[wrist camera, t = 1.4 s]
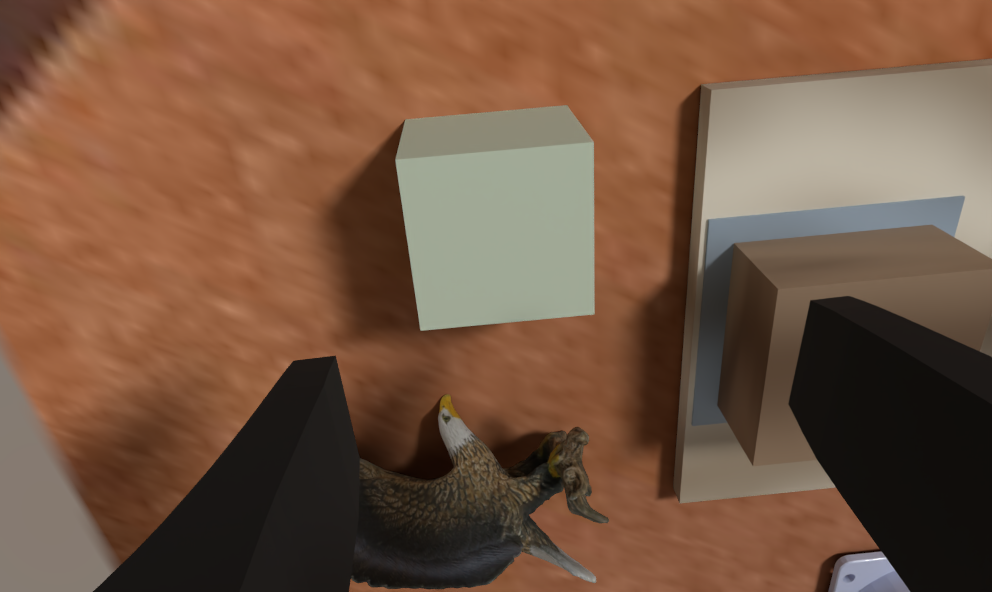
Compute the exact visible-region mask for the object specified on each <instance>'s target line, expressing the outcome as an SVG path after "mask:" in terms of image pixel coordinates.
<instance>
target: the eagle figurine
mask: <svg viewBox="0 0 992 592" xmlns="http://www.w3.org/2000/svg"><path fill="white" fill-rule="evenodd" d="M438 422H439V430H440V434H441V436H442V439H443V441H444V443H445V445H446V448H447V450H448V452H449V455H450V458H451V460H452V463H453V466H454V468H453V469H452V470H451V471H450V472H449V473H448V474H446V475H445V476H443V477H440V478H437V479H431V480H424V479H420V478H415V477H410V476H407V475H403V474H399V473H396V472H393V471H387V470H384V469H382V468H381V467H379V466H376V465H374V464H372V463H370V462H369V461H366V460H364V459H361V458H360V473H359V520H358V528H357V536H356V543H355V550H354V558H353V565H352V572H351V579H352V580H353V581H354V582H356V583H363V582H367V583H368V585H369V586H371V587H385V588H388V589H399V588H412V589H416V588H424V589H445V588H461V587H468V588H471V587H475V586H480V585H487V584H490V583H491V582H492V581H494V580H495V579H496V578H497V576H499V575H500V574H501V573H502V572H503V571H504V570H505V569H506V568H507V567H508V566H509V565H510V564H512V563H513V562H514V558H515V557H518V556H519V555H520V554H521V551H522V552H525V553H527V554H530V555H533V556H536V557H538V558H541V559H543V560H546V561H548V562H550V563H553V564H555V565H557V566H559V567H561V568H563V569H565V570H567V571H568V572H570V573H571V574H572V575H573V576H578V577H580V578H581V579H584V580H586V581H589V582H593V583H595V582H596V577H595V576H594V575H593V574H592V573H591V572H590V571H589V570H587V569H586V568H584V567H583V566H582V565H581V564H580V563H579V562H577V561H576V560H574V559H572V558H571V557H570V556H568V555H567V554H566V553H564V552H563V551H562V550H561V549H560V548H559V547H558V546H556V545H555V544H554V543H553V542H552V541H551V540H550V539H549V537H548V535H546V534H545V533H544V532H543V531H542V530H541V529H540V528H539V527H538V526H537V525H536V523H535V522H534V521H533V520H532V519H531V518H530V516H529V514H531V513H533V512H534V511H535V510H536V509H537V508H538V507H539V506H540V505H542V504H543V502H544V501H545V500H549V499H550V497H552V496H553V495H554V494H556V493H559V492H562V491H563V488H565V493H566V498H567V504H568V508H569V510H570V511H571V513H573V514H576V515H580V516H583V517H584V518H587V519H589V520H591V521H594V522H597V523H608V522H609V519H608V518H607V517H605V516H603V515H602V514H600V513H598V512H597V511H595V510H593V509H592V508H591V507H590V506H589V504H588V502H587V500H586V496H590V495H591V493H592V491H591V486H590V485H589V479H588V476H587V474H586V471H585V469H584V467H583V464H582V453H583V447H584V445H587V444H588V441H589V435H588V434H587V433H586V432H585V431H584V430H582V429H581V428H579V427H575V428H573V429H572V430H571V431H570V432H569V433H568V435H567V434H566V432H565V431H560V432H552V433H549V434H547V435H546V437H545V438H544V440H543V441H542V442H541V443H540V445H539V448H538V449H537V450H536V451H534V452H533V453H532V454H531V455H530V456H529V457H528V458H527V459H526V460H524V461H521V462H519V463H518V464H516V465H515V466H513V467H510V468H505V469H504V468H502V467H501V466H500V464H499V463H498V461H497V460H496V458H495V457H494V455H493V454H492V452H491V451H490V450H489V448H488V447H487V446H486V445H485V444H484V443H483V442H482V441H481V440H480V439H479V438H477V437H476V436H475V435H474V434H473V433H472V432H471V431H470V430H469V429H468V428H467V427H466V425H465V424H464V422H463V421H462V419H461V418H460V416H459V415H458V414H457V412H456V411H455V409H454V407H453V405H452V402H451V396H450V395H444V396H443V397H442V399H441V401H440V411H439V415H438ZM585 495H586V496H585Z"/></svg>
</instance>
